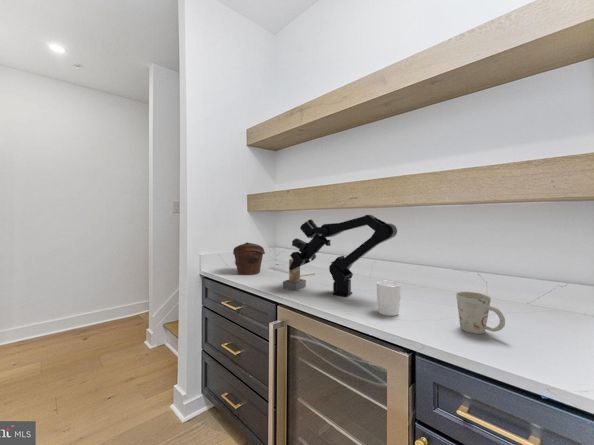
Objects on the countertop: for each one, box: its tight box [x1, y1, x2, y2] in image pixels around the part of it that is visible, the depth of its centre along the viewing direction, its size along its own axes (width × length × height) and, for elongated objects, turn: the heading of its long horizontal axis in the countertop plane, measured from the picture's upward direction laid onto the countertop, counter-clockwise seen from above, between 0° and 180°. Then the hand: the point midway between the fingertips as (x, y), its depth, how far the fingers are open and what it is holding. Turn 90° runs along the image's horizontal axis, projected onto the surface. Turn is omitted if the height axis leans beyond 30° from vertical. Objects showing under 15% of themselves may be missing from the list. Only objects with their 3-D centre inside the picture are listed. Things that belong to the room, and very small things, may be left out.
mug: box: [455, 291, 506, 335], centre depth 78 cm, size 8×13×10 cm, turn 28°
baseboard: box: [270, 263, 316, 278], centre depth 166 cm, size 31×3×12 cm
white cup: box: [376, 280, 402, 317], centre depth 94 cm, size 8×8×10 cm
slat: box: [288, 258, 301, 283], centre depth 127 cm, size 3×4×11 cm, turn 148°
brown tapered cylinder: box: [232, 242, 265, 276], centre depth 161 cm, size 18×20×18 cm
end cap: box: [282, 278, 307, 292], centre depth 127 cm, size 7×9×3 cm
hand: (292, 268), depth 128 cm, fingers closed on slat, 5 cm apart
